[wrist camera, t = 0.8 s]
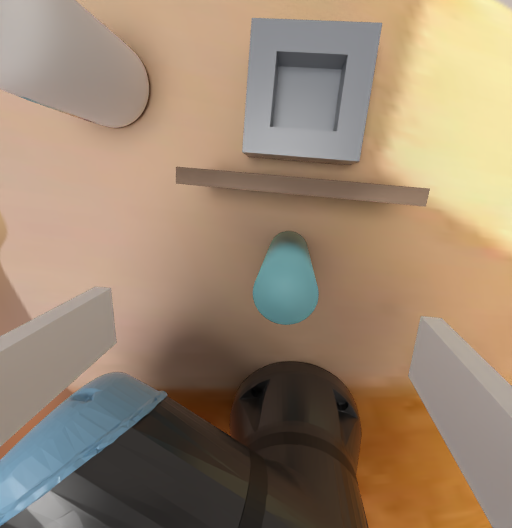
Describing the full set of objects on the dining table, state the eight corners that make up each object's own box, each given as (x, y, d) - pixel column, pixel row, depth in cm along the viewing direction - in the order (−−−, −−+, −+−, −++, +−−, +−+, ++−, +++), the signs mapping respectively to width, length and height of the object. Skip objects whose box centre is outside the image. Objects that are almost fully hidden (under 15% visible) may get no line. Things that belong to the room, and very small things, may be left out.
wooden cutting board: (386, 201, 29) (425, 206, 21) (208, 185, 31) (175, 183, 22) (389, 188, 29) (429, 188, 20) (208, 173, 31) (176, 166, 22)
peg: (304, 270, 32) (313, 328, 19) (267, 265, 32) (250, 320, 19) (309, 233, 31) (322, 266, 18) (271, 229, 31) (255, 259, 18)
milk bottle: (140, 34, 28) (-177, -291, 9) (160, 120, 30) (-75, -1, 11) (69, 53, 30) (-345, -198, 10) (91, 136, 31) (-230, 50, 12)
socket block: (350, 165, 29) (359, 161, 25) (248, 156, 30) (242, 152, 26) (369, 47, 27) (382, 22, 23) (257, 42, 27) (251, 17, 24)
